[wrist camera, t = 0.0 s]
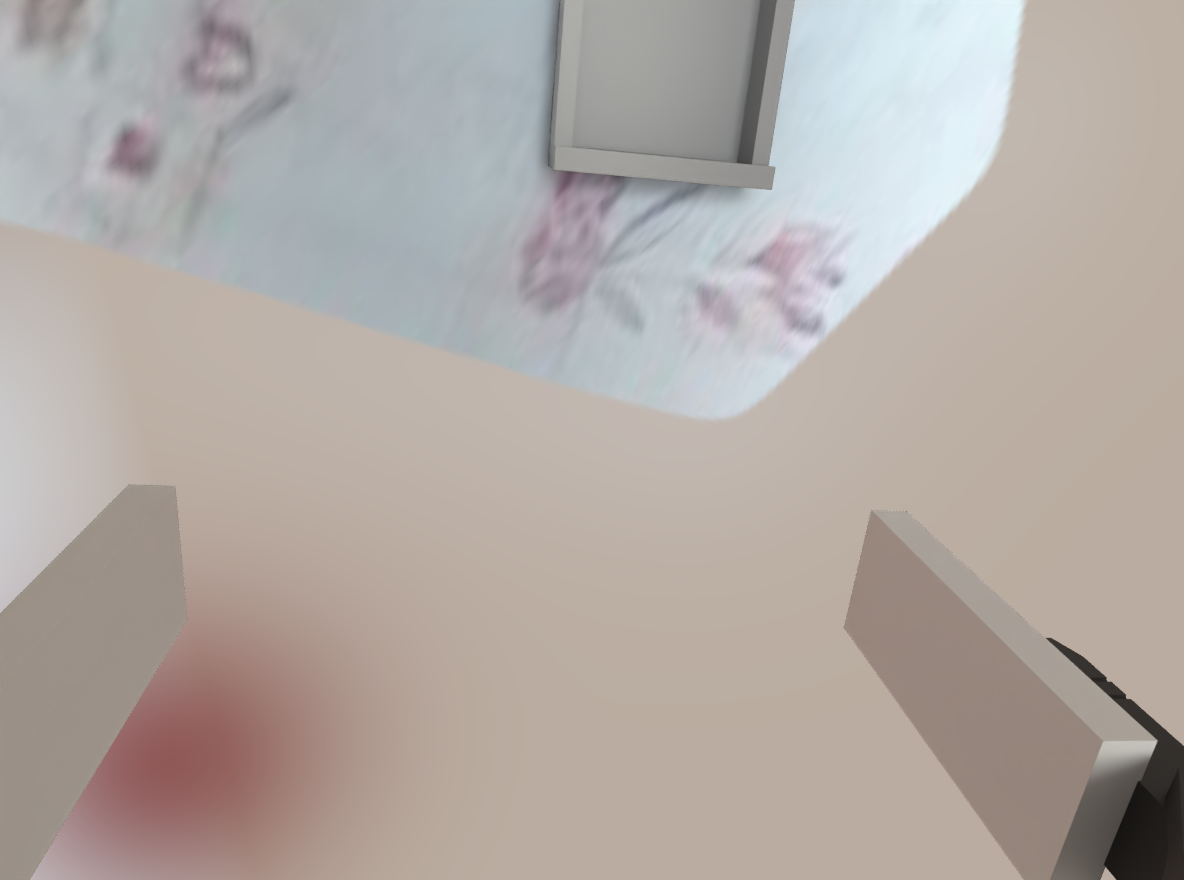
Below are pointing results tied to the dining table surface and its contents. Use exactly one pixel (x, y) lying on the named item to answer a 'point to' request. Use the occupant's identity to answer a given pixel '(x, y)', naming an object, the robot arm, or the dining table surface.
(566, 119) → the tray
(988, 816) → the robot arm
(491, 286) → the dining table surface
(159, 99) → the dining table surface
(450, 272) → the dining table surface
